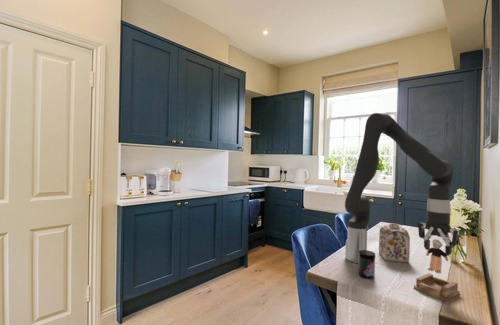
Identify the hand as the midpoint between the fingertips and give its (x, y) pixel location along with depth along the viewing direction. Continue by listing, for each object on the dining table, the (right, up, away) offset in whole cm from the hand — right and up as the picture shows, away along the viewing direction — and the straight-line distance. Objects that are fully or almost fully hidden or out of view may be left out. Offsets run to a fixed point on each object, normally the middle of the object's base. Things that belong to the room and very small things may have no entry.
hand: (437, 252), depth 104 cm
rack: (0, -15, 0) cm, 15 cm away
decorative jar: (+2, -15, +35) cm, 39 cm away
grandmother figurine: (0, -8, 0) cm, 8 cm away
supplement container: (-23, -15, +12) cm, 30 cm away
